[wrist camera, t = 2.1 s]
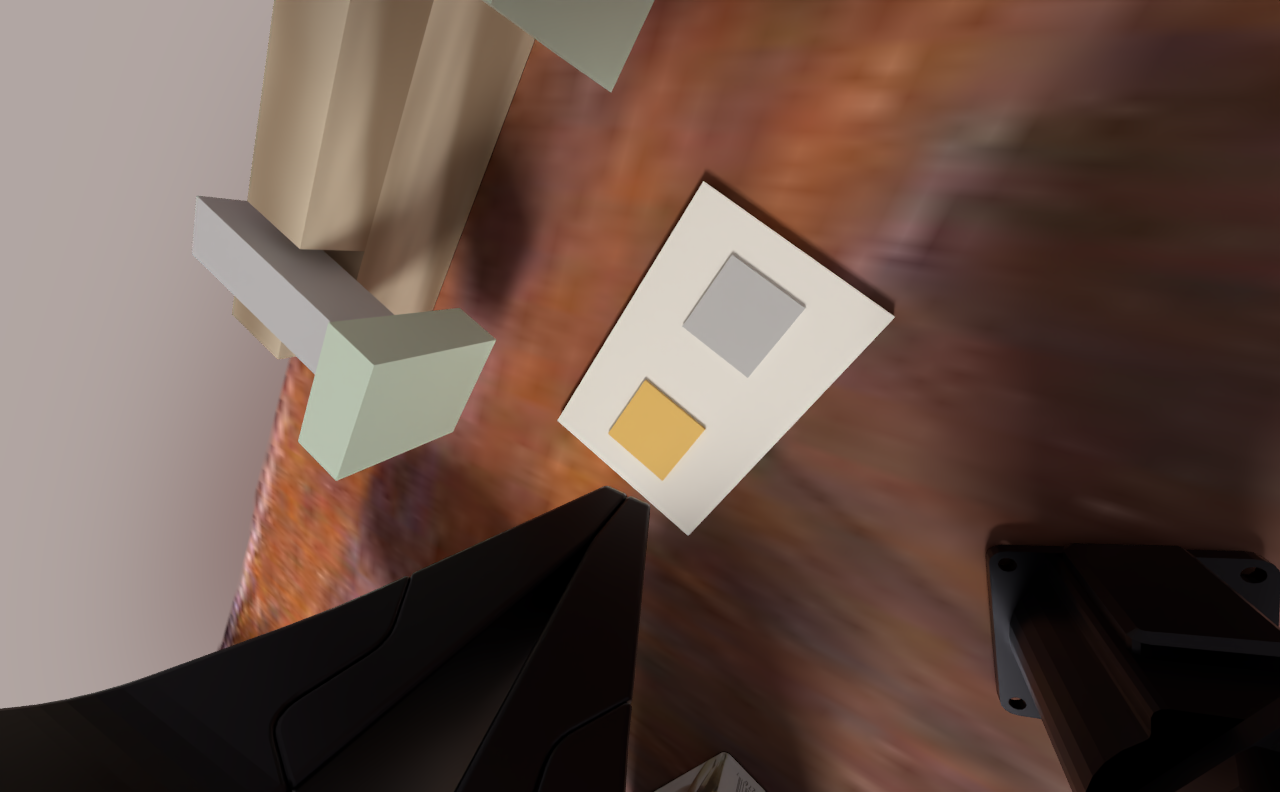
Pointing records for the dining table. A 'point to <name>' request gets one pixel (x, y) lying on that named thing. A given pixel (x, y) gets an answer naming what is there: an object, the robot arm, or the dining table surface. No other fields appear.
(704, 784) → the coffee box
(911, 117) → the dining table surface
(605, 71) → the button
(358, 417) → the button
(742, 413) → the card
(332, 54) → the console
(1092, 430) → the dining table surface
